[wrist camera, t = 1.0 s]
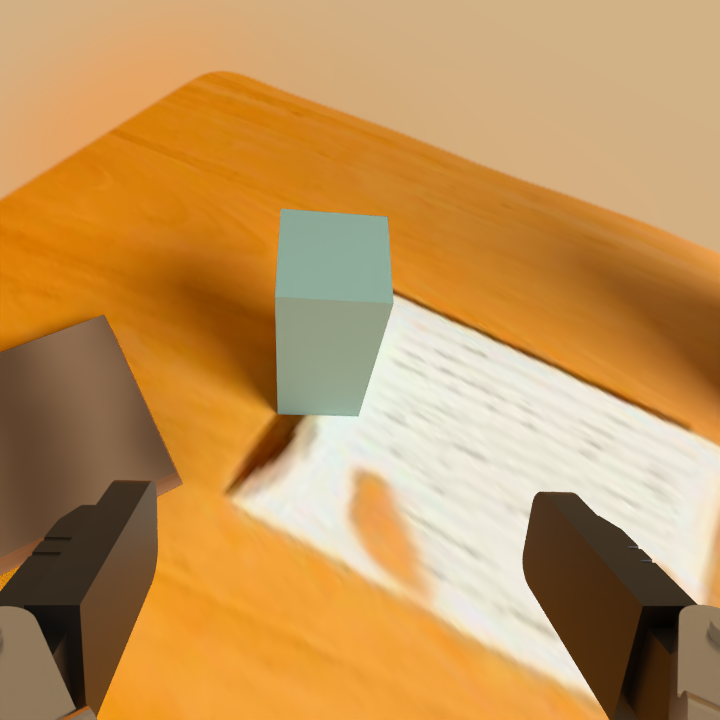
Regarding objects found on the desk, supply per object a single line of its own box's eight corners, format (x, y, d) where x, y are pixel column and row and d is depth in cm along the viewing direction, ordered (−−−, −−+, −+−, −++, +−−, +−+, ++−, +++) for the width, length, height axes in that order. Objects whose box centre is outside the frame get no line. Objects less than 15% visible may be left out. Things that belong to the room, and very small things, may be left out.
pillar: (356, 347, 32) (387, 216, 22) (358, 416, 30) (393, 303, 20) (281, 344, 31) (281, 208, 22) (277, 413, 29) (274, 296, 20)
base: (114, 334, 30) (104, 314, 29) (182, 483, 27) (175, 471, 25) (-84, 409, 27) (-110, 392, 25) (-36, 593, 23) (-62, 588, 22)
